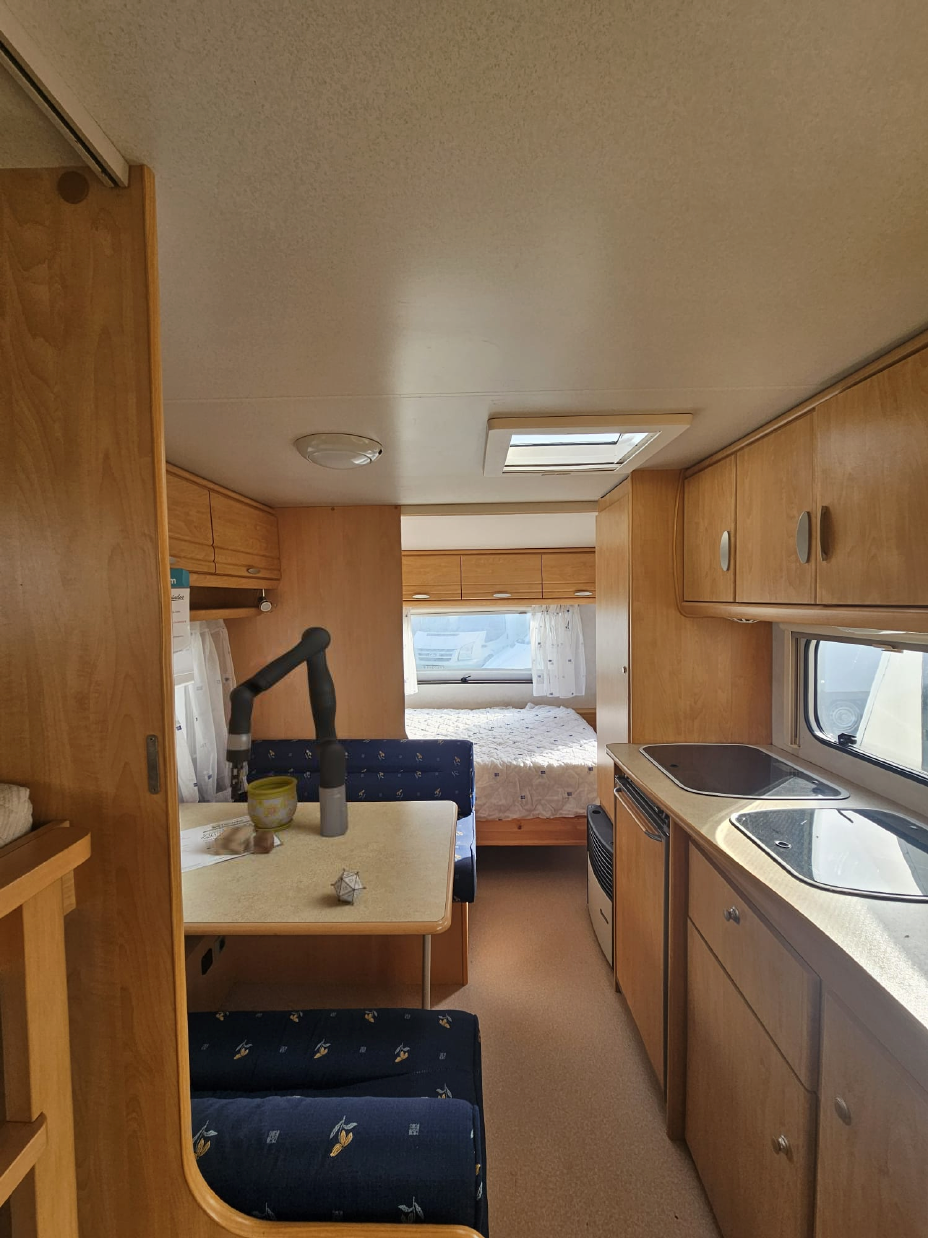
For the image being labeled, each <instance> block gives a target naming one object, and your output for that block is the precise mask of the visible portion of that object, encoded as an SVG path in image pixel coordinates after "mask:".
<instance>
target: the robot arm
mask: <svg viewBox="0 0 928 1238" xmlns="http://www.w3.org/2000/svg"><path fill="white" fill-rule="evenodd" d="M331 637H332V636H331V634H330V632H329V631H328V630H327V629H326V628H324V627H320V626H312V627H310V626H309V627H308V628H306V629H305V630H304V631H303V632H302V635H301V639H300V641H299V642H298V643H296V645H295V646H293V647H292V648H291V649H289V650H287V652H285V653H283V654H282V655H280V656H278V657H277V658H275V659H274V660H272V661H271V662H269V663H267V664H265V666H264V667H262V668H261V669H259V670H258V671H257V672H256V673H255V674H254V675H253V676H251V677H249V678H247V679H246V680H244V681H242V682H241V683H239V684H238V685H237V686H235V687H234V688H233V689H232V690H231V691H230V692H229V701H230V717H229V721H228V727H227V728H228V730H227V732H228V733H227V736H226V737H227V739H226V748H225V749H226V753H225V761H226V762H227V763H232V765H231V767H230V778H229V779H230V784H229V787H230V790H231V791H230V799H231V800H233V801H234V800H238V799H239V793H240V792H241V791H242V781H243V779H244V774H245V764H244V763H247V762H249V761H250V759H251V749H252V734H251V733H252V715H253V714H252V713H253V709H254V701H255V698H256V697H258V696H259V695H261V693H263V692H267V691H269V690H270V689H271V688H273V687H274V686H276V685H277V684H278V682H280V681H281V680H283V679H284V678H285V677H286V676H287V675H289V674H290V673H291V672H292V671H294V670H295V669H296V668H297V667H299V666H300V665H302V664H303V663H305V662H306V671H307V685H308V686H307V688H308V696H309V703H310V710H311V715H312V720H313V725H314V730H315V731H314V732H315V733H314V734H315V755H316V758H317V760H318V762H319V764H320V765H319V768H320V770H319V771H320V773H319V774H320V776H319V778H318V792H319V795H318V797H319V816H320V817H319V818H320V819H319V820H320V835H322V836H323V837H325V838H326V837H328V838H332V837H338V836H343V835H345V834H346V833H347V831H348V830H349V818H348V817H349V811H348V802H346V777H347V755H346V750H345V747H344V746H343V745H342V744H341V743H340V742H339V739H338V736H337V730H336V716H337V715H336V714H337V695H336V689H335V688H336V687H335V683H334V680H333V678H332V675H331V673H330V669H329V666H328V663H327V654H326V653H327V652H326V651H327V649H328V648H329V646H330V644H331V640H332V638H331Z"/></svg>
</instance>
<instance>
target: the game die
mask: <svg viewBox="0 0 928 1238" xmlns="http://www.w3.org/2000/svg"><path fill="white" fill-rule="evenodd" d="M342 870H343V872H342V873H341V874H340V875H339V877H338V878H337V879H336V880H335V882H334V883H330V884H329V886H331V887H332V886H333V888H334V890H335V892H336V895H337V897H336V900H337V902H340V901H345V902H350V903H351V905H352V906H354V905H355V904H354V901H355V900H356V899H357V897H358V896H359V895H360V894H361V892H362V891H363V890H366V889H367V887H365V886H363V883H362V881H361V878H360V877H359V876H360V874H359V873H360V871H359V870H358V871H357V872H351V871H346V868H344V867H343V868H342Z"/></svg>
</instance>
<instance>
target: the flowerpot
mask: <svg viewBox="0 0 928 1238" xmlns="http://www.w3.org/2000/svg"><path fill="white" fill-rule="evenodd" d="M297 783H298V781H297V779H296V778H295V777H293V776H292V777H291V776H283V775H281V776H272V777H265V778H261V779H257V780H254V781H252V782H251V783H249V784H248V785H247V786H246V791H247V815H248V817H249V820H250V821H251V822H252V823H253V826H252V827H253V830H255V831H256V832H258V831H264V830H274V833H276V832H281V831H283V830H286V829H288V828H289V827H290V826H291V825H292V823H293V822H294V818H293V817H294V816H295V814H296V811H297V808H298V795H297V791H296V790H297V786H296V785H297Z"/></svg>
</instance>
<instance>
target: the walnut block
mask: <svg viewBox="0 0 928 1238" xmlns="http://www.w3.org/2000/svg"><path fill="white" fill-rule="evenodd" d="M256 832H257V833H255V834H253V844H252V845H253V855H269V854H271V852H272V851H273V849H275V832H274V830H264V831H256Z"/></svg>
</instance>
